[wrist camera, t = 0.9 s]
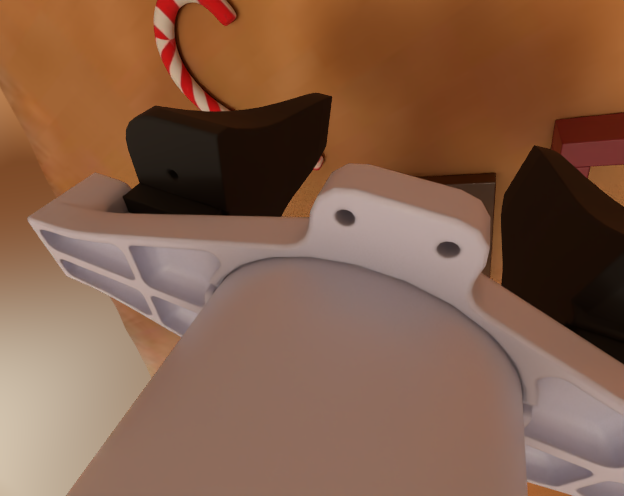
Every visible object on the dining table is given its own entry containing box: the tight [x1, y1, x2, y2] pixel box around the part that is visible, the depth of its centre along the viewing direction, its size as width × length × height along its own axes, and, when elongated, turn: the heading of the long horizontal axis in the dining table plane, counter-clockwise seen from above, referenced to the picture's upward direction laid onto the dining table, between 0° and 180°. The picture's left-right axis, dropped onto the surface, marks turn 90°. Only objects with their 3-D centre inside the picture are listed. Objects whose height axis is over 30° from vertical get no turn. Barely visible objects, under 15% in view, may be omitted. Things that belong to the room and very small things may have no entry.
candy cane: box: [154, 0, 323, 170], centre depth 24 cm, size 8×1×15 cm
